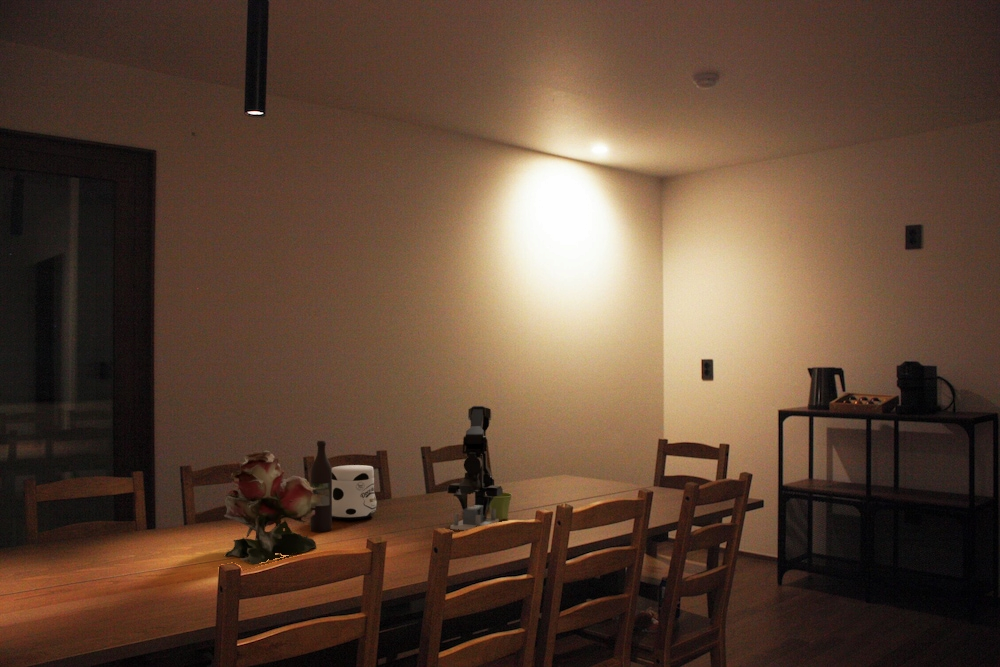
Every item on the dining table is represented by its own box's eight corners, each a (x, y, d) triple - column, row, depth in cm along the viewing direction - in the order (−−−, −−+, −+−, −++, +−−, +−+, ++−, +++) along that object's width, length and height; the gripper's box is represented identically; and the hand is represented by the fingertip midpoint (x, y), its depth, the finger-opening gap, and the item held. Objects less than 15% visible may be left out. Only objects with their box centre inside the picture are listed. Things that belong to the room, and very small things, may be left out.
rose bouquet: (330, 545, 246) (330, 448, 247) (258, 567, 221) (259, 458, 222) (270, 536, 259) (271, 443, 260) (196, 555, 234) (197, 453, 235)
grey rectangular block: (473, 519, 279) (473, 504, 279) (486, 520, 277) (486, 505, 278) (462, 524, 271) (462, 509, 271) (476, 525, 269) (476, 510, 269)
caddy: (470, 519, 284) (470, 506, 284) (498, 522, 279) (498, 508, 280) (450, 528, 269) (450, 514, 269) (480, 531, 265) (480, 517, 265)
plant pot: (513, 516, 290) (513, 492, 290) (511, 521, 281) (511, 496, 281) (487, 515, 291) (487, 491, 291) (484, 521, 282) (484, 496, 282)
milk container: (381, 520, 284) (381, 469, 284) (332, 524, 277) (332, 472, 278) (370, 511, 300) (370, 463, 300) (324, 515, 293) (324, 466, 294)
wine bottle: (305, 531, 266) (306, 441, 267) (319, 527, 272) (320, 439, 273) (322, 533, 263) (322, 442, 264) (336, 529, 269) (336, 440, 270)
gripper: (440, 471, 271) (440, 517, 270) (490, 474, 264) (490, 521, 263) (454, 466, 281) (454, 511, 281) (503, 469, 274) (503, 515, 274)
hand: (474, 514), depth 274 cm, fingers open, 7 cm apart
